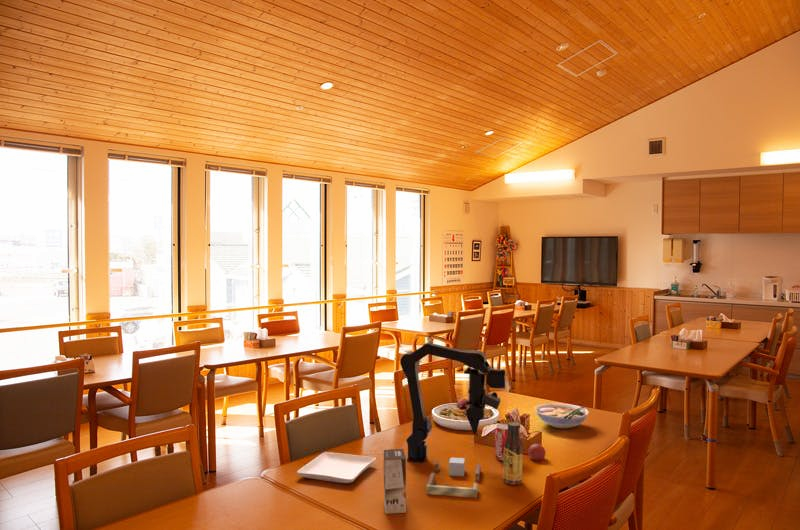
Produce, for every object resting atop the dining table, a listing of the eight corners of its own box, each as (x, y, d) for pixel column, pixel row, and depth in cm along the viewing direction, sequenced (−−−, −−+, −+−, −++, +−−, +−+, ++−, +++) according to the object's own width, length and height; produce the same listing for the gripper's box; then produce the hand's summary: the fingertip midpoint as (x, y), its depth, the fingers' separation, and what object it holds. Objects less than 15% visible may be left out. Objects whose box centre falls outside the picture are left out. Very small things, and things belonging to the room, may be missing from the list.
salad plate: (295, 480, 194) (295, 470, 194) (324, 459, 214) (324, 450, 214) (352, 489, 187) (352, 479, 186) (377, 466, 206) (377, 457, 206)
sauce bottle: (499, 480, 192) (499, 421, 192) (515, 477, 195) (515, 419, 194) (510, 487, 186) (510, 426, 186) (526, 484, 189) (526, 424, 188)
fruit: (527, 462, 214) (520, 446, 211) (535, 452, 217) (529, 436, 214) (541, 467, 209) (534, 451, 206) (549, 456, 212) (542, 440, 210)
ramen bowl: (547, 415, 268) (547, 398, 268) (596, 424, 255) (596, 405, 255) (525, 429, 248) (525, 410, 248) (577, 439, 235) (577, 419, 234)
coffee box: (406, 513, 168) (406, 459, 168) (384, 514, 168) (384, 459, 168) (403, 499, 178) (403, 448, 177) (383, 500, 177) (382, 449, 177)
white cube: (449, 475, 197) (449, 462, 197) (450, 470, 202) (450, 457, 202) (463, 476, 196) (463, 463, 196) (464, 471, 201) (464, 458, 201)
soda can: (514, 462, 209) (514, 429, 208) (494, 461, 210) (494, 428, 210) (514, 455, 216) (514, 424, 215) (495, 454, 217) (495, 423, 217)
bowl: (504, 432, 244) (504, 414, 244) (433, 432, 245) (433, 414, 244) (493, 413, 274) (493, 396, 274) (430, 413, 275) (430, 396, 274)
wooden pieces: (426, 493, 182) (426, 486, 182) (435, 468, 204) (435, 461, 204) (476, 497, 179) (476, 489, 179) (480, 471, 201) (480, 464, 201)
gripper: (499, 394, 196) (497, 439, 196) (499, 382, 214) (498, 423, 215) (466, 392, 198) (465, 436, 198) (469, 380, 216) (468, 421, 217)
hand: (475, 429), depth 207 cm, fingers open, 9 cm apart
